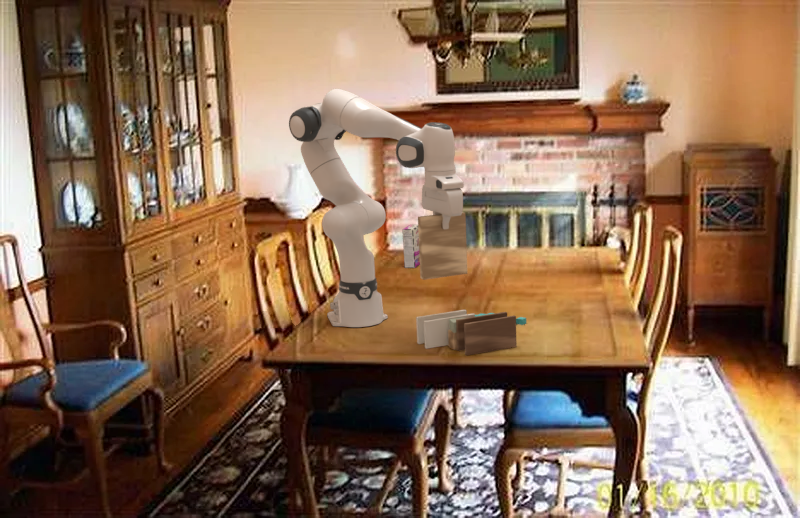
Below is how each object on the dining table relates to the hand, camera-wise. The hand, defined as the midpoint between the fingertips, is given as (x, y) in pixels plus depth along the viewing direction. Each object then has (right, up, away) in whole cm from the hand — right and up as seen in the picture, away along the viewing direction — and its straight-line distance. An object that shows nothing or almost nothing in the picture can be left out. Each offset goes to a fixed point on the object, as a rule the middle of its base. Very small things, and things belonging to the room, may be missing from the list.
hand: (442, 228), depth 264 cm
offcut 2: (+5, -34, +1) cm, 35 cm away
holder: (+2, -33, +7) cm, 34 cm away
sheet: (+1, -14, +3) cm, 14 cm away
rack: (+13, -34, -2) cm, 37 cm away
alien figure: (+13, -31, +21) cm, 40 cm away
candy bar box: (-7, -12, +118) cm, 119 cm away
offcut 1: (+5, -29, 0) cm, 30 cm away
